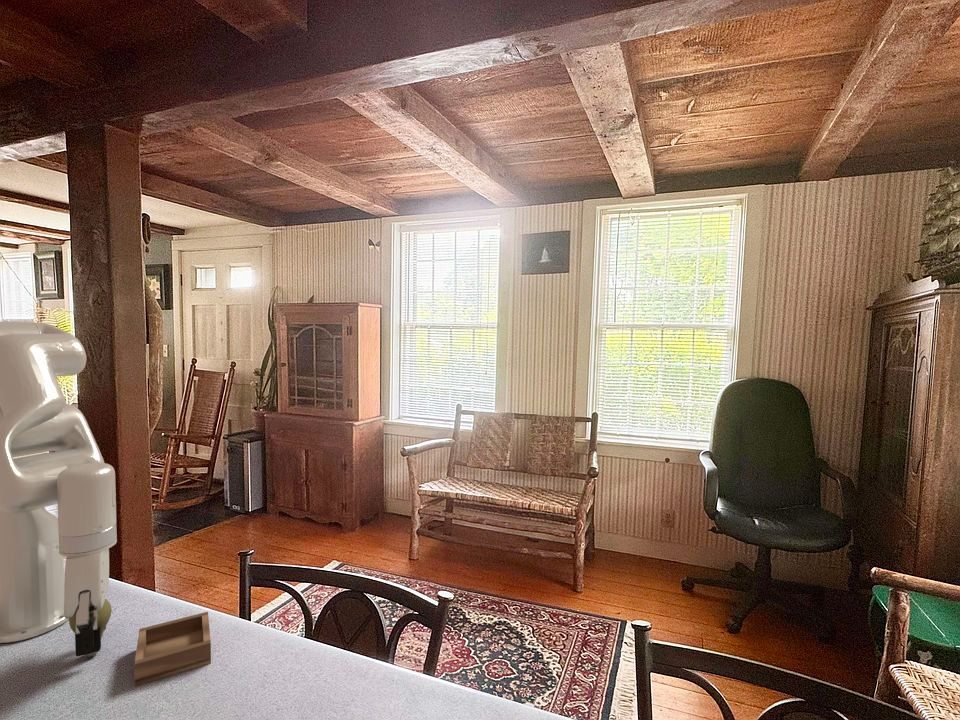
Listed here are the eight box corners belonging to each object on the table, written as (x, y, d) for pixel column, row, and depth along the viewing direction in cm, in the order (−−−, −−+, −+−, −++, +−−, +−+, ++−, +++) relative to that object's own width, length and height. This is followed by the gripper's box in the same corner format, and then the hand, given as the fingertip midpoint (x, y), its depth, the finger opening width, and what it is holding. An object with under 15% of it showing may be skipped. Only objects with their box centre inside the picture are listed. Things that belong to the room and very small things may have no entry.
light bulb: (88, 669, 78) (87, 610, 78) (61, 664, 79) (59, 605, 79) (120, 647, 84) (119, 592, 83) (94, 642, 85) (93, 588, 84)
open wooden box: (139, 648, 84) (139, 628, 83) (208, 629, 89) (207, 611, 89) (134, 686, 75) (134, 664, 75) (210, 663, 80) (210, 642, 80)
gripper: (69, 525, 86) (72, 622, 87) (46, 565, 71) (50, 682, 72) (121, 517, 90) (124, 610, 91) (110, 553, 75) (112, 664, 76)
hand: (91, 641), depth 81 cm, fingers closed on light bulb, 5 cm apart
